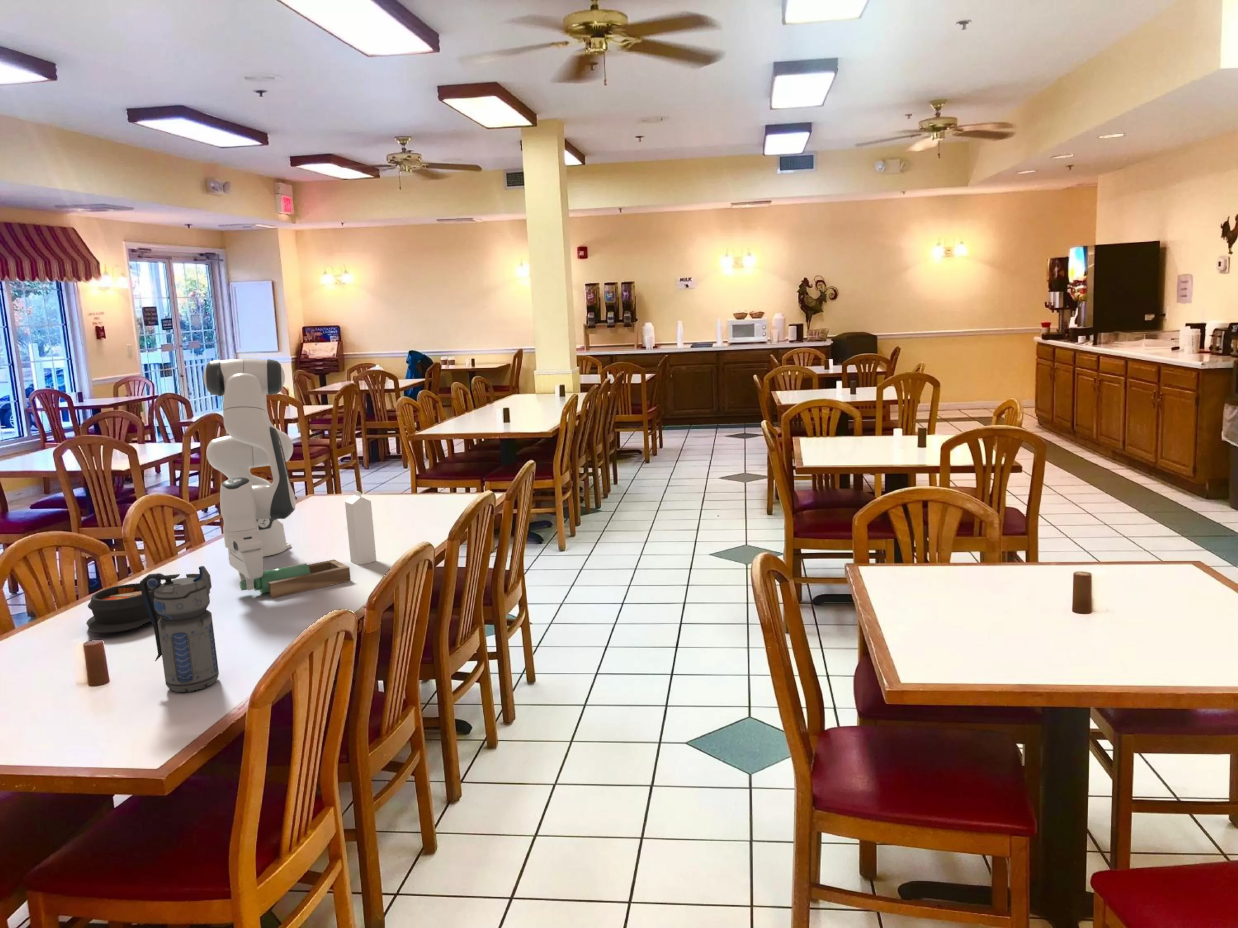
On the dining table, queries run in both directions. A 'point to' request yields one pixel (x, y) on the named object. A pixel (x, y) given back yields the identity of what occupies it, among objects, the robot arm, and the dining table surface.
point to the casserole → (119, 609)
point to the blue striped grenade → (183, 628)
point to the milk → (360, 529)
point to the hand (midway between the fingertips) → (247, 587)
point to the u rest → (312, 579)
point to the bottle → (276, 576)
